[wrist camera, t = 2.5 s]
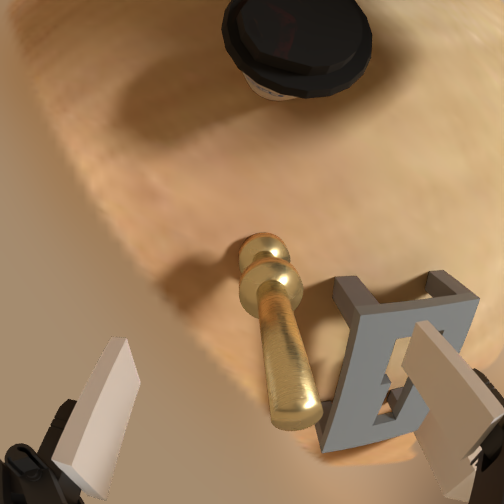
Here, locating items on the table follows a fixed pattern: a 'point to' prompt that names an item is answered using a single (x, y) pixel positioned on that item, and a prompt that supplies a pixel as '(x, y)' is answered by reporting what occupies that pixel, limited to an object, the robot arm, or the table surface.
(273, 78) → the coffee cup
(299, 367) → the brass t bolt
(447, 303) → the keyhole plate
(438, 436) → the milk carton
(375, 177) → the table surface
